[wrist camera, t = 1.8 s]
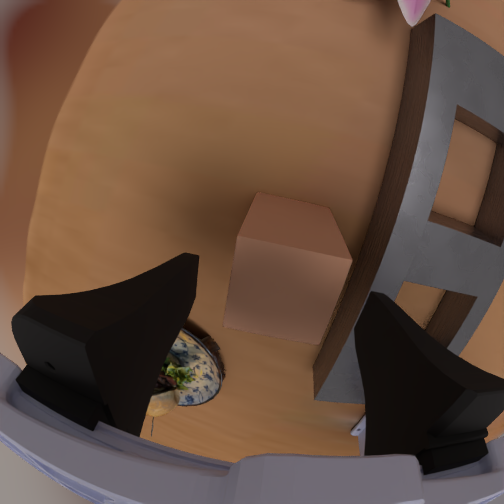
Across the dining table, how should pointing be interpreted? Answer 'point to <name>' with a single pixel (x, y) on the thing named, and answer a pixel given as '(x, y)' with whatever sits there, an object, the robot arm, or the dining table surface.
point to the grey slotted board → (428, 204)
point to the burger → (187, 375)
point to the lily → (414, 9)
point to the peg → (286, 270)
